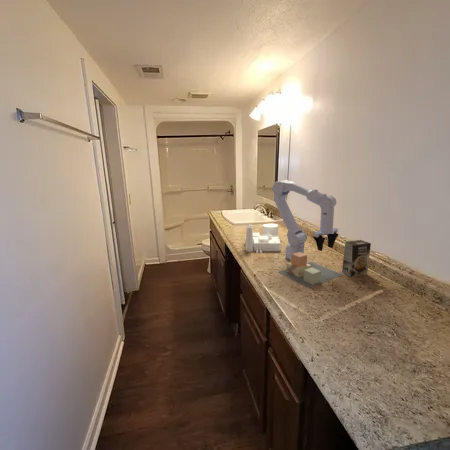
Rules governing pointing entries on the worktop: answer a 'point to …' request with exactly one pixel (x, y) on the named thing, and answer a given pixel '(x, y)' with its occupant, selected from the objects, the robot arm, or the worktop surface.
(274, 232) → the power plant
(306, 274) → the sage cube
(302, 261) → the terracotta cube
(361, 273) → the coffee box
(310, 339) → the worktop surface
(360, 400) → the worktop surface
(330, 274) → the slate mat
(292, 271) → the birch slab
